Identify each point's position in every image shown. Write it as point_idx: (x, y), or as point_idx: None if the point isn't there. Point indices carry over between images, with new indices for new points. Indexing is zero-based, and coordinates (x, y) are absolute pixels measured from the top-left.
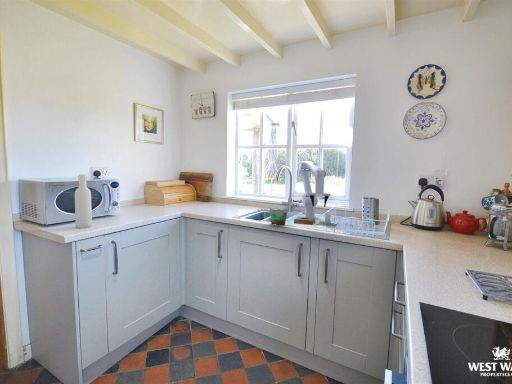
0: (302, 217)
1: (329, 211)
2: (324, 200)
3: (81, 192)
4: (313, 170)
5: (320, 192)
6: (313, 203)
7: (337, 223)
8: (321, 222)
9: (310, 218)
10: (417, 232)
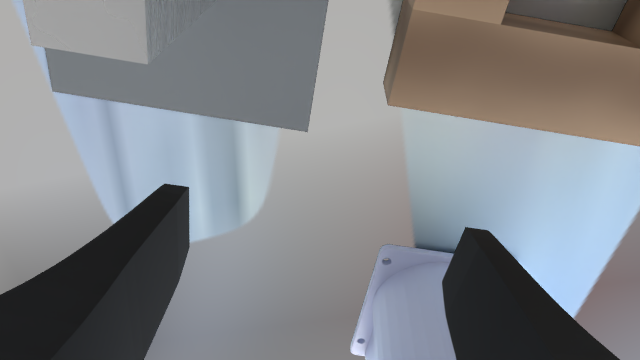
0: (614, 81)
1: (58, 22)
2: (86, 307)
3: None
4: None
5: None
6: (495, 282)
7: None
8: (284, 14)
9: (482, 17)
10: None
